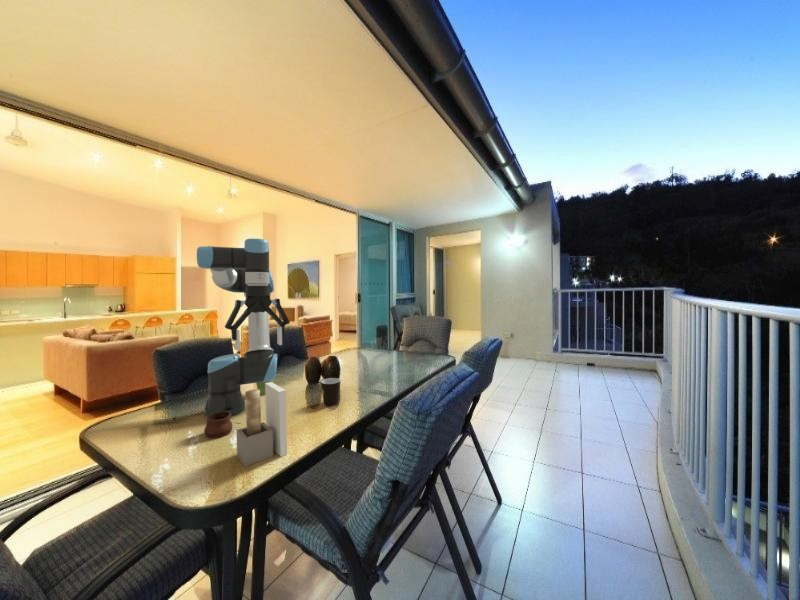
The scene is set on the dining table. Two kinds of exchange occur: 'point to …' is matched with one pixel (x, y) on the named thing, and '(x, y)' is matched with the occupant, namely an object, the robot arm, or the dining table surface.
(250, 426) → the oak rail
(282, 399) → the cup bracket
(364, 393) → the dining table surface
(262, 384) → the plant pot
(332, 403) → the coffee mug
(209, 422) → the ceramic pot
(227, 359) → the robot arm
